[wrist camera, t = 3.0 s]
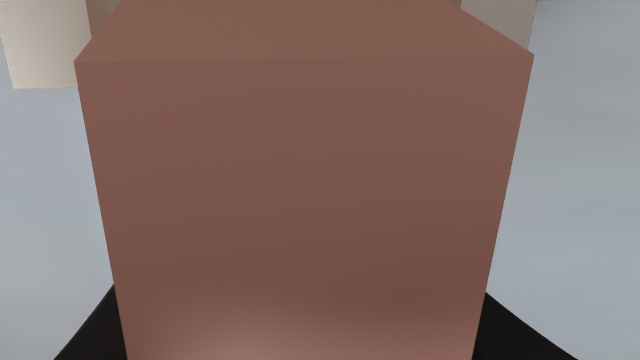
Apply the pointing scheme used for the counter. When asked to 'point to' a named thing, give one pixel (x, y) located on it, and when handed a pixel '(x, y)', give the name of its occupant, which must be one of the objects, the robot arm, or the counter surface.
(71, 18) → the dispenser sleeve
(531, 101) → the counter surface
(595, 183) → the counter surface
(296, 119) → the pink block
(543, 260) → the counter surface
